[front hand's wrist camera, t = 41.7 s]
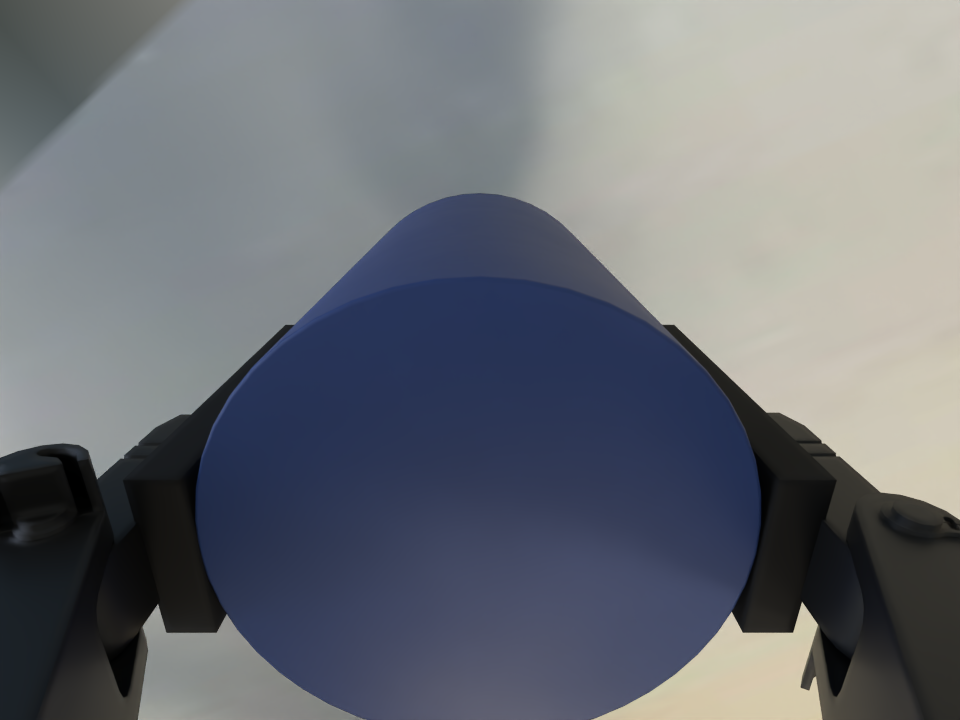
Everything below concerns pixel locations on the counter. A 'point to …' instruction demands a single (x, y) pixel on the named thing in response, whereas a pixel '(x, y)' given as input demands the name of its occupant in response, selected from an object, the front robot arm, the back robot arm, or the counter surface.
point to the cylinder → (478, 482)
